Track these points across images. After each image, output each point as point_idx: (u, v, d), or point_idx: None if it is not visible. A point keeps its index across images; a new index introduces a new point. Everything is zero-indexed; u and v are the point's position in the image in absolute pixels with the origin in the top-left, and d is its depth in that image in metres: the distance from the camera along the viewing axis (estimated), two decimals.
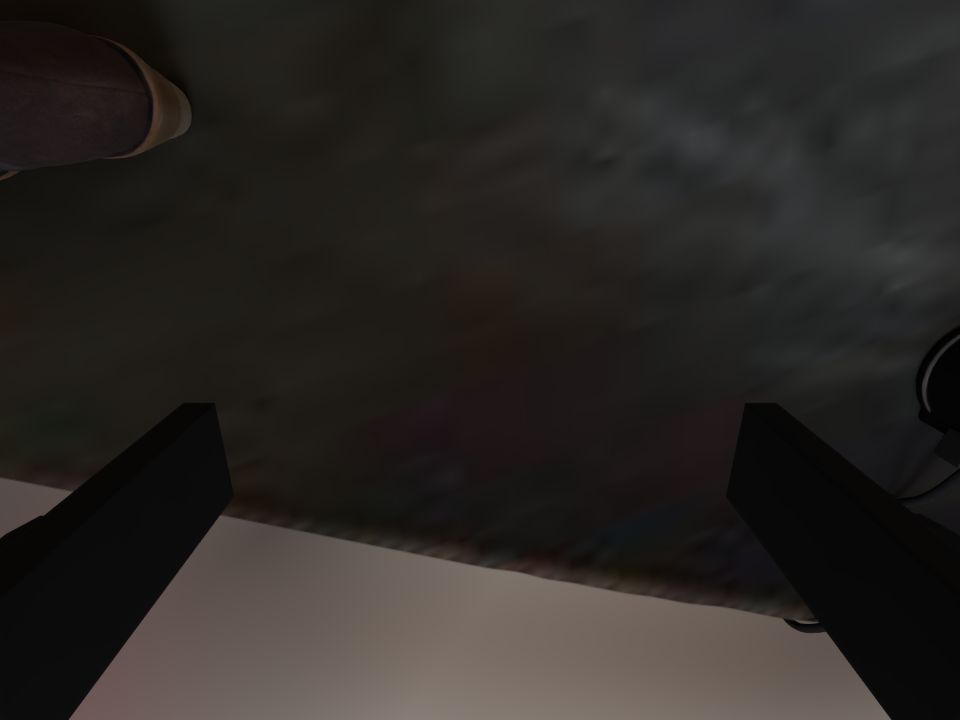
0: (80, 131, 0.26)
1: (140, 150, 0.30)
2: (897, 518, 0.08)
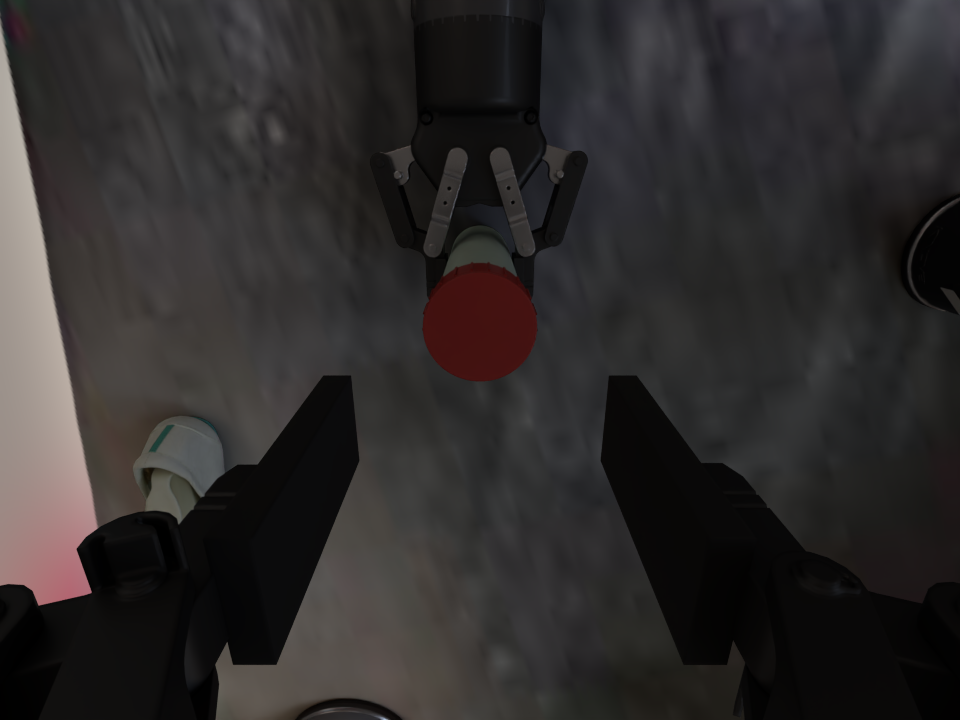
0: None
1: None
2: (681, 461, 0.10)
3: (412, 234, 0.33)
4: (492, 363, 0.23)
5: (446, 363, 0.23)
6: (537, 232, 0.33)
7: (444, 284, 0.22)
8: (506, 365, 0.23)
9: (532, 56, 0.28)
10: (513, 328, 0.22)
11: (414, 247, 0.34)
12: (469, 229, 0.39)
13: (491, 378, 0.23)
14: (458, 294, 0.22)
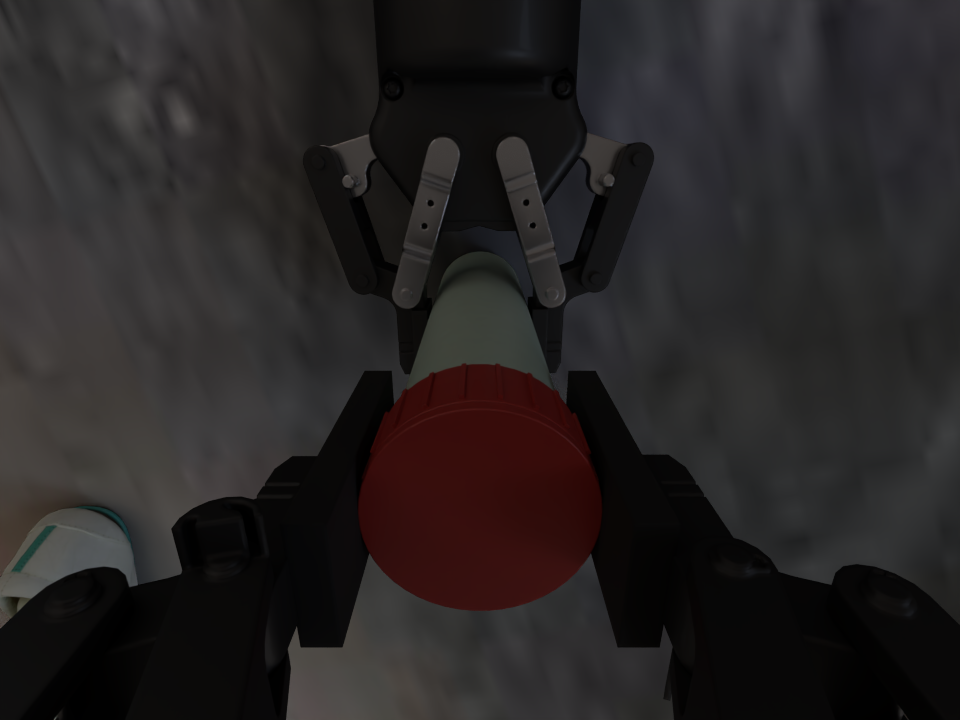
0: None
1: None
2: (622, 451, 0.10)
3: (374, 274, 0.21)
4: (506, 580, 0.11)
5: (410, 580, 0.11)
6: (569, 270, 0.22)
7: (401, 431, 0.10)
8: (535, 584, 0.11)
9: None
10: (552, 517, 0.10)
11: (378, 292, 0.22)
12: (464, 258, 0.27)
13: (503, 606, 0.11)
14: (432, 452, 0.10)
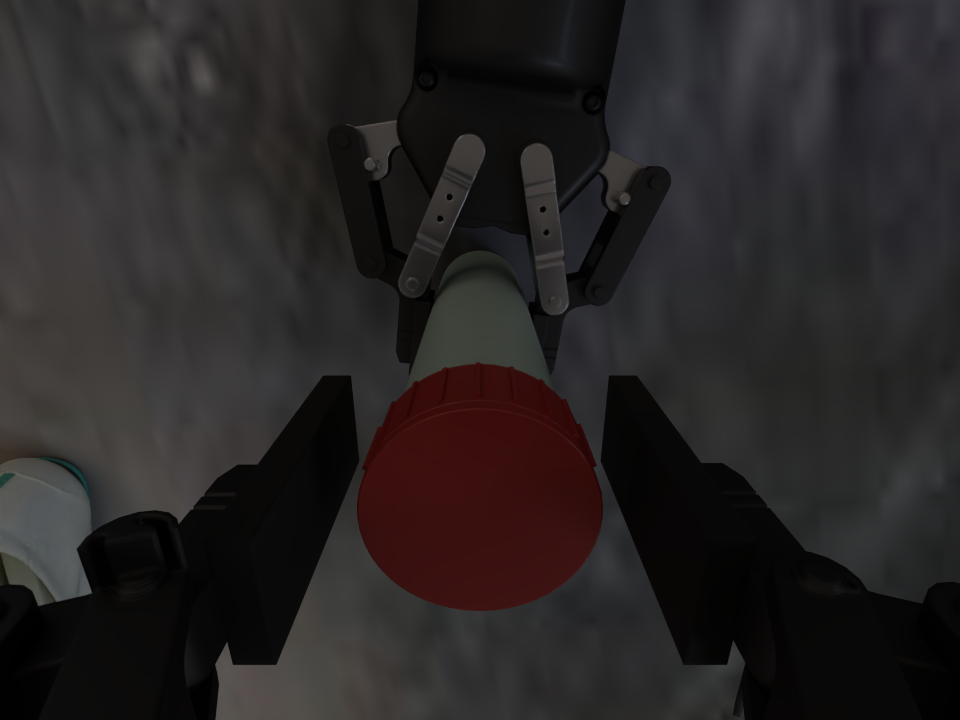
0: None
1: None
2: (681, 461, 0.10)
3: (383, 259, 0.21)
4: (563, 509, 0.10)
5: (538, 587, 0.11)
6: (574, 280, 0.22)
7: (375, 557, 0.11)
8: (576, 484, 0.10)
9: None
10: (493, 457, 0.10)
11: (384, 278, 0.22)
12: (470, 255, 0.27)
13: (598, 517, 0.10)
14: (397, 542, 0.11)
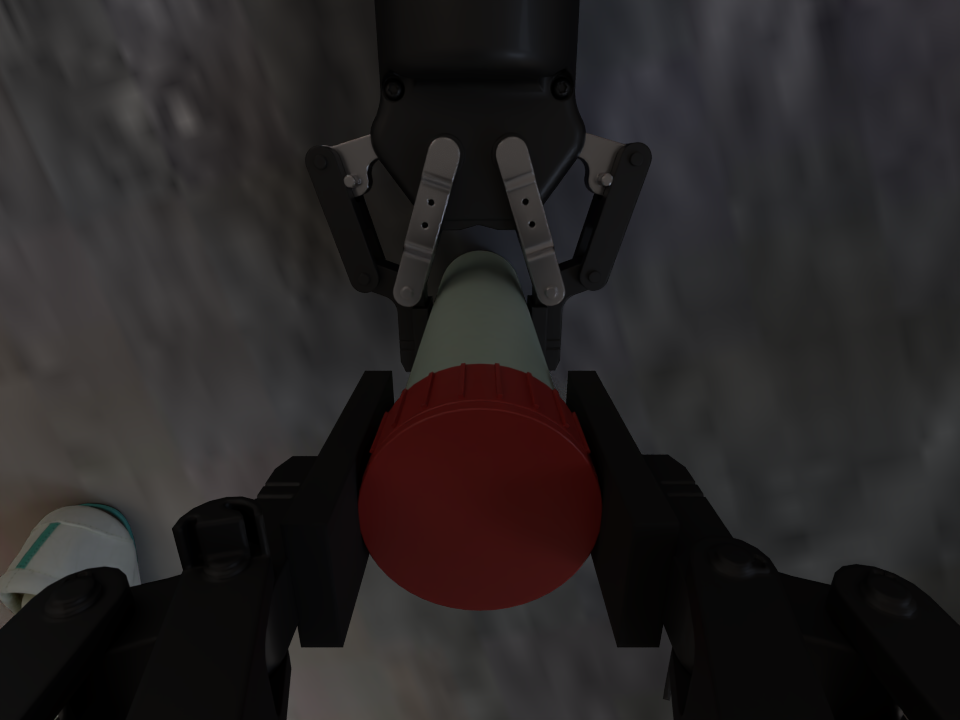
0: None
1: None
2: (622, 451, 0.10)
3: (375, 272, 0.21)
4: (562, 500, 0.10)
5: (549, 580, 0.11)
6: (568, 268, 0.22)
7: (384, 567, 0.11)
8: (571, 474, 0.10)
9: None
10: (483, 456, 0.10)
11: (380, 291, 0.22)
12: (465, 257, 0.27)
13: (598, 504, 0.10)
14: (402, 550, 0.11)
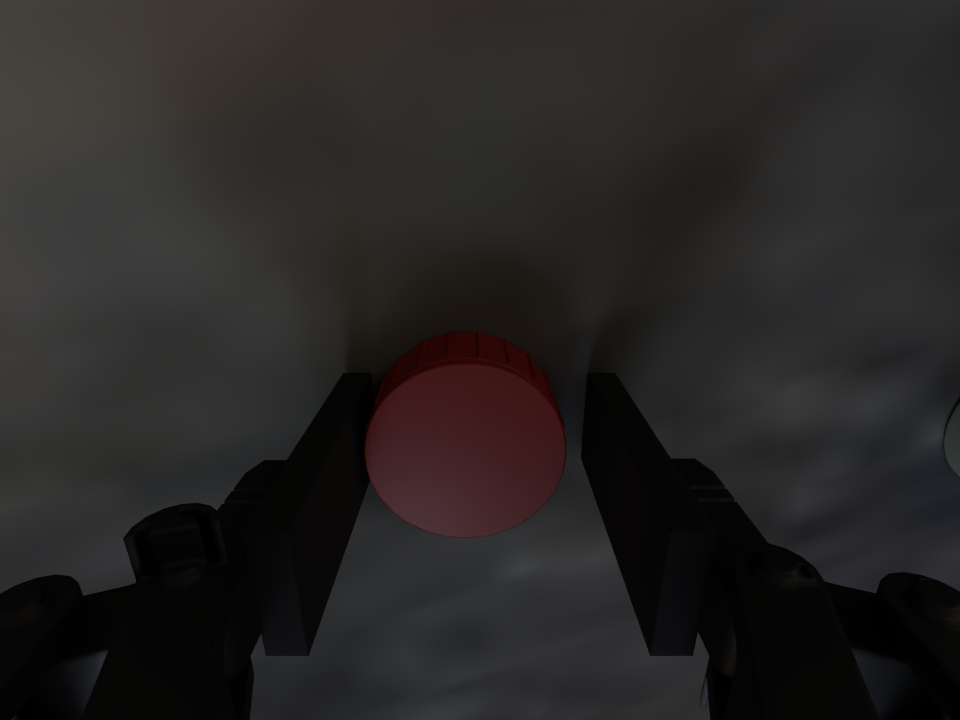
0: None
1: None
2: (651, 456, 0.10)
3: None
4: (532, 440, 0.12)
5: (524, 510, 0.13)
6: None
7: (386, 501, 0.13)
8: (539, 418, 0.12)
9: None
10: (467, 404, 0.12)
11: None
12: None
13: (562, 443, 0.12)
14: (401, 485, 0.13)
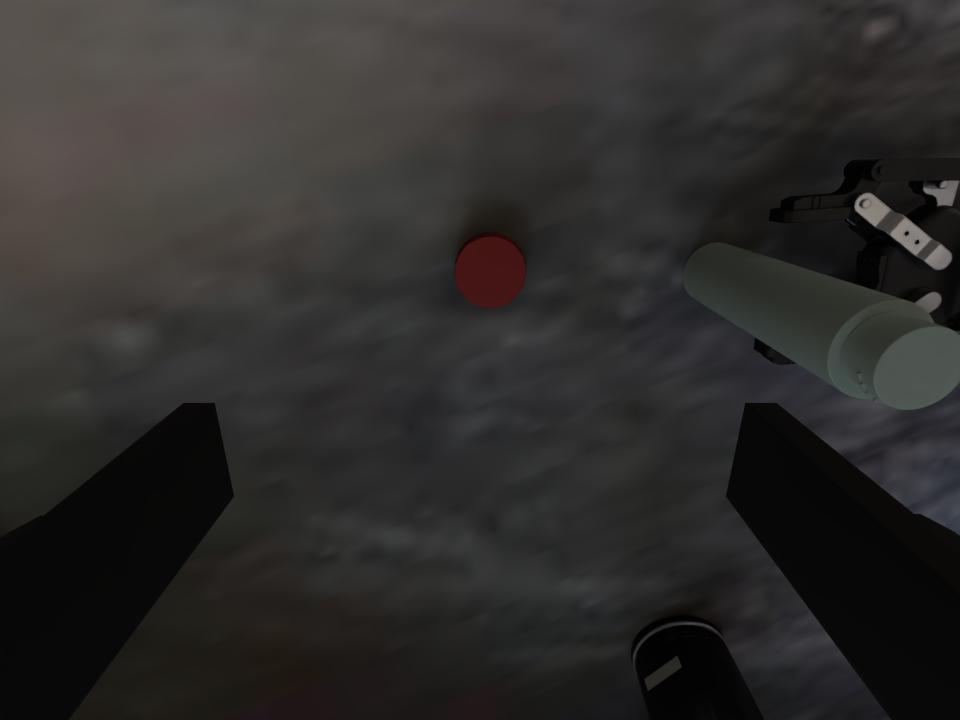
0: None
1: None
2: (897, 518, 0.08)
3: (884, 179, 0.29)
4: (513, 266, 0.36)
5: (511, 295, 0.36)
6: None
7: (461, 291, 0.36)
8: (516, 257, 0.35)
9: None
10: (491, 251, 0.35)
11: (862, 180, 0.30)
12: None
13: (524, 267, 0.36)
14: (467, 284, 0.36)
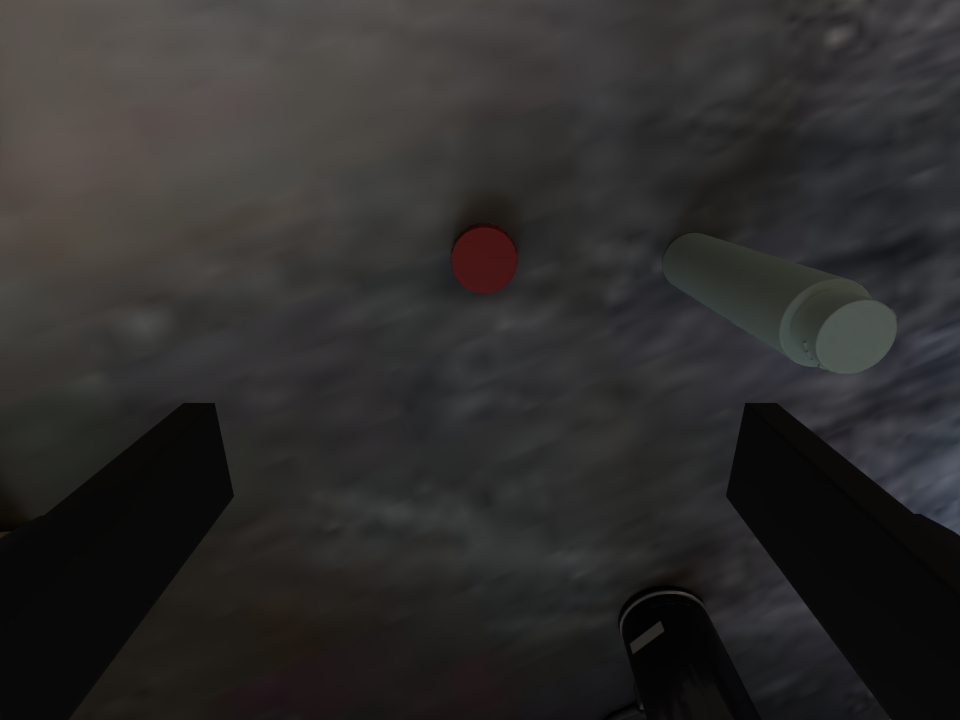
0: None
1: None
2: (897, 518, 0.08)
3: None
4: (505, 255, 0.38)
5: (503, 282, 0.39)
6: None
7: (457, 278, 0.39)
8: (507, 246, 0.38)
9: None
10: (484, 241, 0.38)
11: None
12: None
13: (515, 256, 0.39)
14: (462, 271, 0.39)
